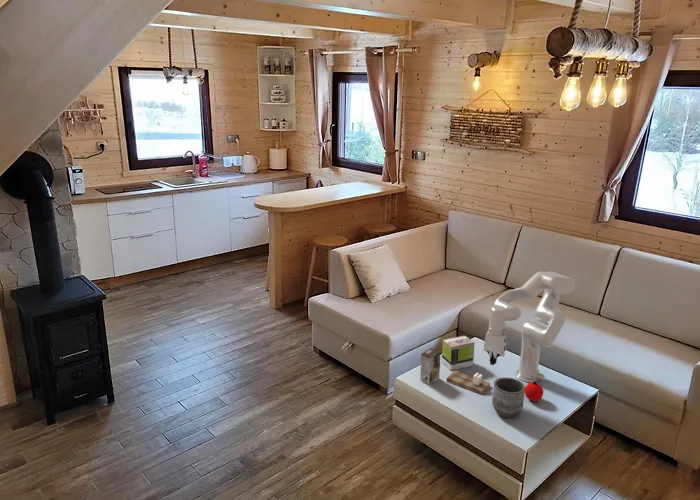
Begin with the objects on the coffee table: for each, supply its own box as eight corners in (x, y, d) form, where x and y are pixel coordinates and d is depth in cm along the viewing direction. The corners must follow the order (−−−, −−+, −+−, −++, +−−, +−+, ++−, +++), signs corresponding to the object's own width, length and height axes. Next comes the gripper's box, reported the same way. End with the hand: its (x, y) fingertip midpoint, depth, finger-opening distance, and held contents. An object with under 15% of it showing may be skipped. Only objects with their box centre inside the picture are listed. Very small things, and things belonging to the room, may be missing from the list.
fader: (481, 382, 272) (482, 374, 270) (478, 385, 269) (478, 377, 267) (476, 380, 274) (476, 372, 272) (472, 383, 271) (473, 375, 269)
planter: (493, 401, 259) (496, 374, 255) (523, 407, 254) (526, 380, 250) (489, 417, 247) (492, 389, 243) (520, 424, 242) (523, 396, 237)
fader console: (489, 386, 273) (490, 382, 272) (481, 394, 265) (482, 390, 265) (455, 373, 284) (455, 370, 284) (446, 381, 277) (446, 377, 276)
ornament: (520, 399, 261) (522, 381, 258) (528, 392, 267) (530, 375, 264) (537, 406, 255) (539, 389, 252) (545, 399, 261) (547, 382, 258)
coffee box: (429, 374, 284) (431, 347, 279) (439, 378, 279) (441, 351, 275) (419, 380, 278) (420, 353, 273) (429, 385, 273) (430, 357, 269)
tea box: (463, 358, 301) (465, 334, 297) (473, 366, 292) (475, 342, 288) (440, 362, 296) (442, 338, 292) (450, 371, 287) (451, 346, 283)
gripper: (513, 332, 256) (509, 365, 261) (485, 324, 264) (482, 356, 270) (507, 337, 250) (504, 371, 255) (478, 329, 259) (475, 362, 264)
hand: (492, 363), depth 263 cm, fingers closed
